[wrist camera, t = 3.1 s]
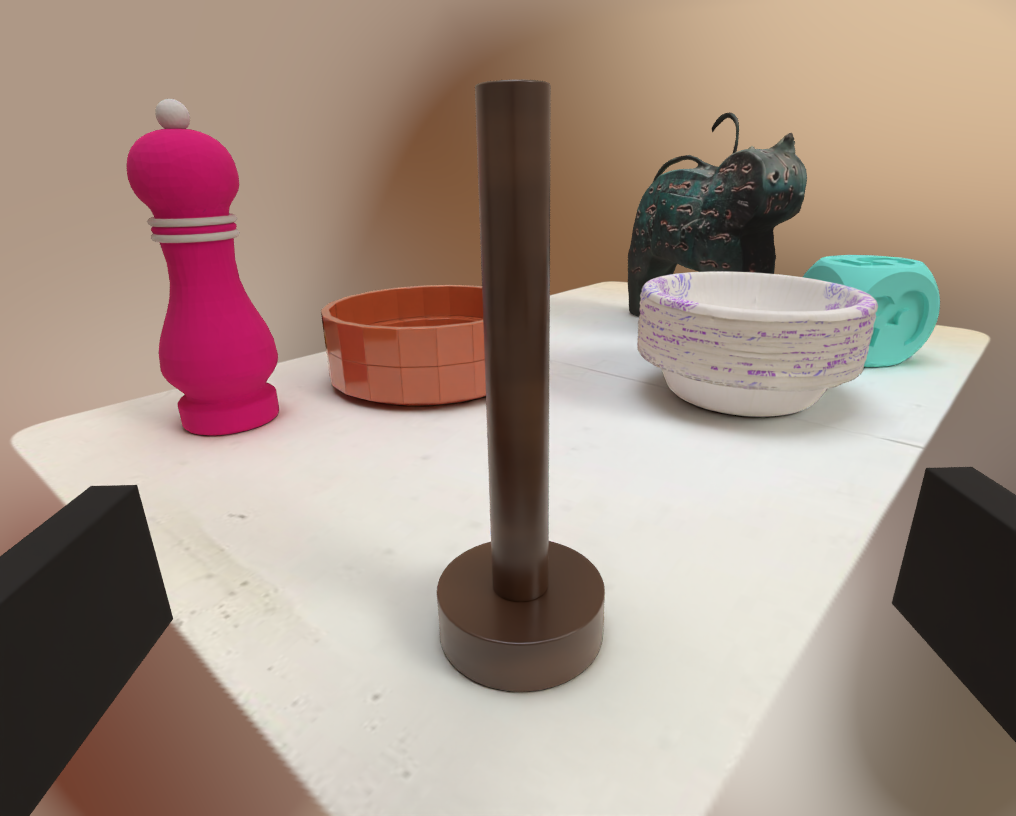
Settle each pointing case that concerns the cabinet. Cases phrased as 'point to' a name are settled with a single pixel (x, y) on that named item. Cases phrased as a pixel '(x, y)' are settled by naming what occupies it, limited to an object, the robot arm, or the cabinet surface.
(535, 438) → the dowel on disc base
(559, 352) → the cabinet surface
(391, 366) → the bowl
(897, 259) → the decorative dice
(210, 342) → the pepper mill
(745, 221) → the ceramic cat
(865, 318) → the paper bowls
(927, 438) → the cabinet surface
